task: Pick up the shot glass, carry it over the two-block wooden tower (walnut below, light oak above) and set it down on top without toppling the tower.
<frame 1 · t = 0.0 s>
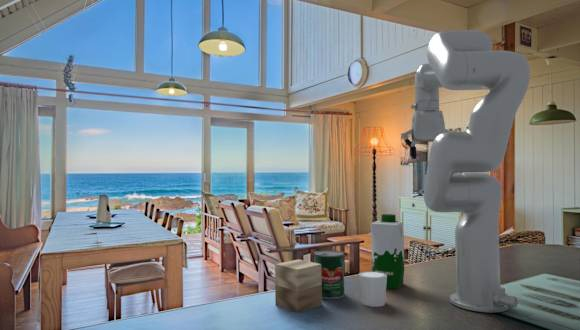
hand: (428, 158, 124), 37 cm above the kitchen counter, tool pointing down, fingers open, 9 cm apart
block upper: (298, 284, 91), point 5 cm above the kitchen counter, touching block lower
block lower: (298, 305, 91), on the kitchen counter, touching block upper
canned tomato: (329, 295, 99), on the kitchen counter
milk carton: (388, 285, 107), on the kitchen counter
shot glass: (373, 303, 92), on the kitchen counter
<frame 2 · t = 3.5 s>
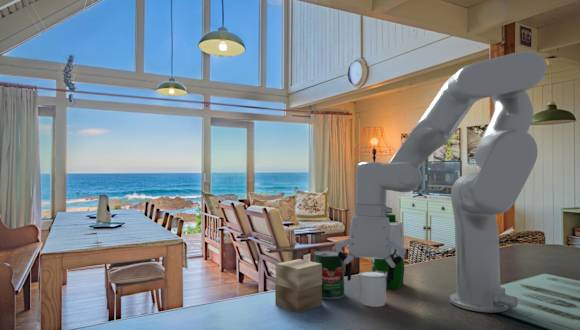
hand: (368, 281, 92), 5 cm above the kitchen counter, tool pointing down, fingers open, 9 cm apart
nothing on the kitchen counter moved.
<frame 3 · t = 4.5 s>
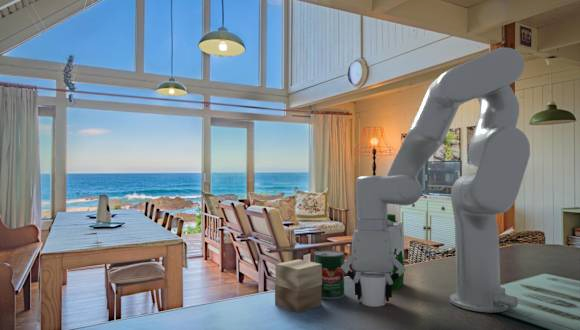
hand: (373, 298, 92), 1 cm above the kitchen counter, tool pointing down, fingers closed on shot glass, 6 cm apart
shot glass: (373, 303, 92), on the kitchen counter, touching gripper
everything else where it was.
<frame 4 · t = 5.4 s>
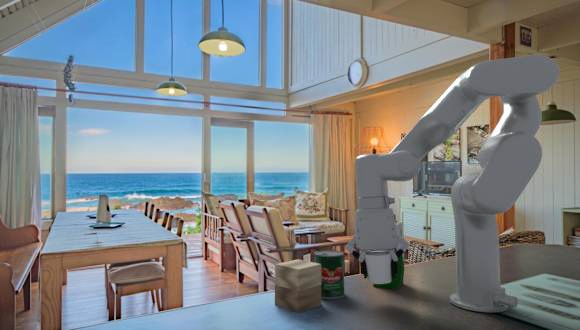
hand: (379, 276, 92), 6 cm above the kitchen counter, tool pointing down, fingers closed on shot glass, 6 cm apart
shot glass: (379, 281, 92), point 5 cm above the kitchen counter, touching gripper
everything else where it was.
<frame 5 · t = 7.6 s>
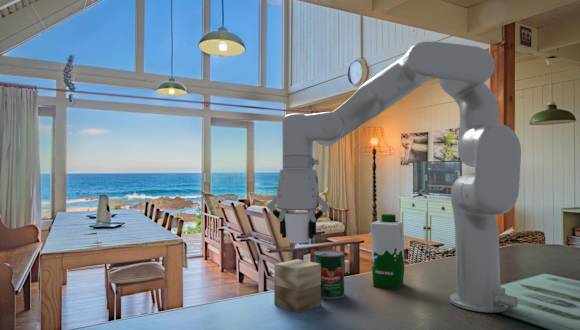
hand: (298, 236, 91), 16 cm above the kitchen counter, tool pointing down, fingers closed on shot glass, 6 cm apart
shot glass: (297, 242, 91), point 15 cm above the kitchen counter, touching gripper
everything else where it was.
when the fingers open (12 cm above the kitchen counter, at t = 9.1 s): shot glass drops 1 cm, point 10 cm above the kitchen counter.
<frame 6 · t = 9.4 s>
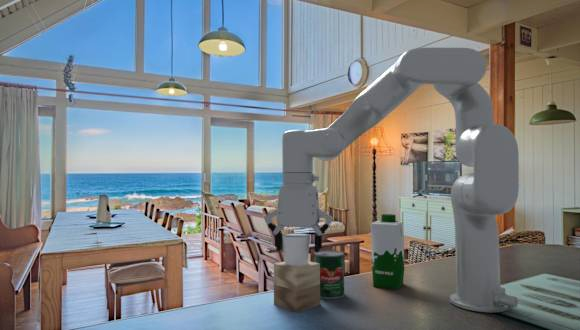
hand: (298, 250, 91), 13 cm above the kitchen counter, tool pointing down, fingers open, 9 cm apart
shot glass: (296, 264, 91), point 10 cm above the kitchen counter
everything else where it was.
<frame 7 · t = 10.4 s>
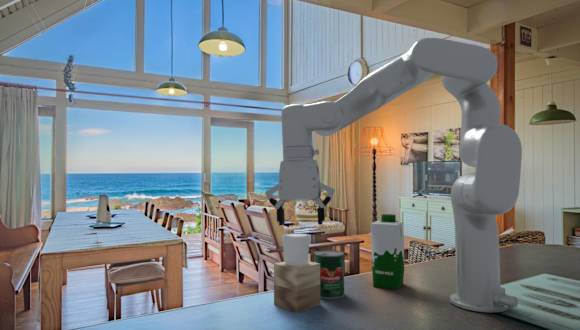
hand: (300, 224, 92), 19 cm above the kitchen counter, tool pointing down, fingers open, 9 cm apart
block upper: (297, 284, 91), point 5 cm above the kitchen counter, touching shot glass
block lower: (297, 305, 91), on the kitchen counter
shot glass: (296, 264, 91), point 10 cm above the kitchen counter, touching block upper
everything else where it was.
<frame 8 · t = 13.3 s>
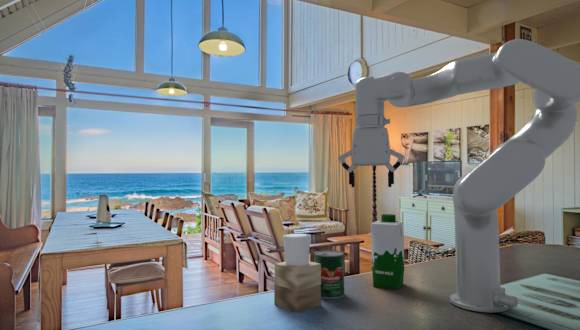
hand: (371, 187, 100), 28 cm above the kitchen counter, tool pointing down, fingers open, 9 cm apart
block upper: (297, 284, 91), point 5 cm above the kitchen counter, touching block lower, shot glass
block lower: (297, 305, 91), on the kitchen counter, touching block upper
everything else where it was.
at the end: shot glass inside the target area on the block upper (0.2 cm from its centre), point 4.8 cm above the block upper's base; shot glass tilted 1°; block upper 0.1 cm off-centre on the block lower, point 5.0 cm above the block lower's base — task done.
